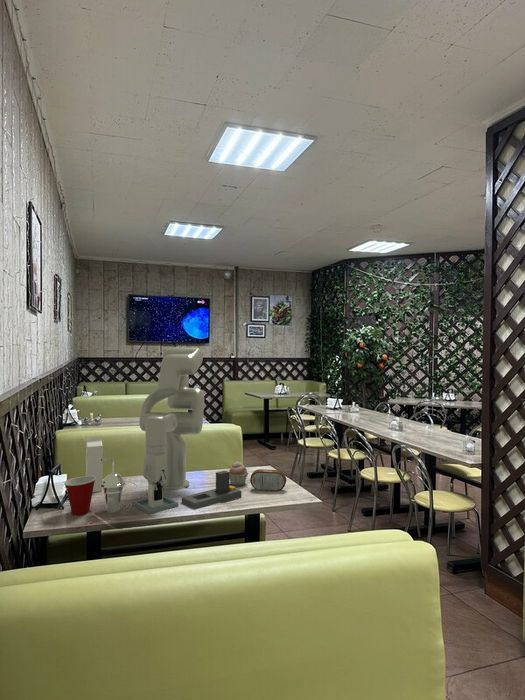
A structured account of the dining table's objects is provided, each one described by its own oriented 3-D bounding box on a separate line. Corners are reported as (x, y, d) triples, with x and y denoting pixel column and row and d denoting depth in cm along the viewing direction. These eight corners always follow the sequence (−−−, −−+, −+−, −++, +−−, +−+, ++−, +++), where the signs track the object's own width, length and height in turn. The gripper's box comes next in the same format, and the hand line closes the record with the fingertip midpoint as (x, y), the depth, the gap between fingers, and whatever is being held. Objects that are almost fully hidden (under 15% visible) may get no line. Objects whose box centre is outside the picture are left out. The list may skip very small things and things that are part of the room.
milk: (85, 489, 188) (85, 436, 188) (101, 487, 191) (100, 435, 191) (87, 493, 183) (87, 439, 183) (102, 491, 185) (102, 437, 186)
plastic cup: (73, 506, 167) (73, 474, 167) (101, 507, 166) (101, 475, 166) (57, 517, 156) (57, 482, 156) (86, 518, 155) (86, 483, 155)
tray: (133, 506, 167) (133, 501, 167) (161, 499, 176) (161, 494, 176) (148, 515, 159) (148, 510, 159) (178, 507, 167) (178, 502, 167)
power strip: (181, 503, 171) (181, 495, 171) (227, 491, 185) (227, 483, 185) (194, 510, 164) (195, 501, 164) (241, 497, 179) (241, 488, 179)
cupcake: (252, 482, 198) (252, 460, 198) (241, 488, 190) (241, 464, 190) (234, 479, 203) (234, 457, 203) (222, 485, 194) (223, 462, 194)
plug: (148, 505, 167) (148, 478, 167) (158, 503, 170) (159, 476, 170) (152, 508, 164) (152, 480, 164) (163, 505, 167) (163, 478, 167)
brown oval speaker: (286, 489, 189) (286, 469, 189) (285, 492, 186) (286, 471, 186) (250, 488, 190) (250, 468, 190) (249, 490, 187) (249, 470, 187)
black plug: (215, 497, 178) (215, 472, 178) (224, 495, 181) (224, 470, 181) (220, 499, 175) (220, 474, 175) (229, 497, 178) (229, 472, 178)
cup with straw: (128, 512, 161) (128, 457, 161) (102, 517, 156) (102, 460, 156) (121, 505, 168) (122, 452, 168) (96, 510, 163) (96, 455, 163)
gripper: (136, 447, 171) (136, 495, 171) (157, 454, 159) (157, 506, 159) (154, 444, 176) (153, 491, 176) (176, 451, 164) (176, 502, 164)
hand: (155, 498), depth 167 cm, fingers closed on plug, 3 cm apart
